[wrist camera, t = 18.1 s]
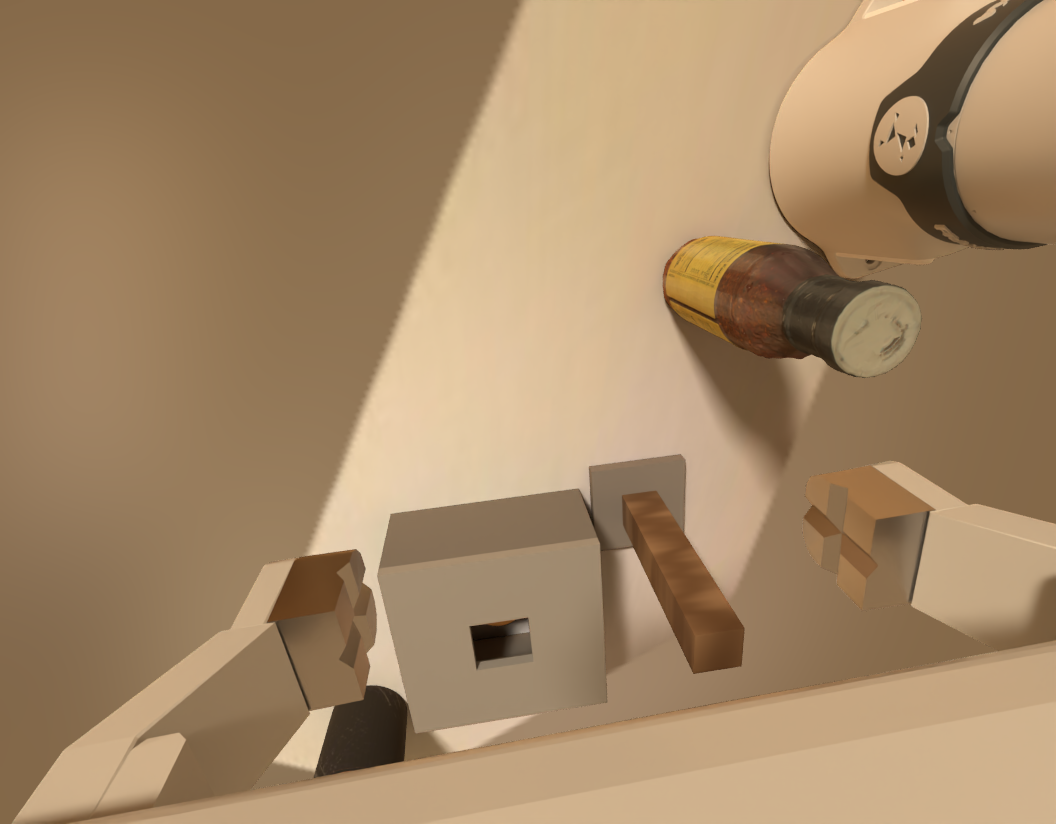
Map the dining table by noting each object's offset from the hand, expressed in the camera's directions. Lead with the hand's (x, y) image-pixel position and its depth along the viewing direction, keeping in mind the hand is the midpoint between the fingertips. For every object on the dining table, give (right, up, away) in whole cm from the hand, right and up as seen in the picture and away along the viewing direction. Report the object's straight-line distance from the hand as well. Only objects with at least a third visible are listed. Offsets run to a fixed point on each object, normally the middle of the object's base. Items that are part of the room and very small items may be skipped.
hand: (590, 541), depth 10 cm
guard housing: (-4, -13, +40) cm, 42 cm away
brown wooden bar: (+8, -6, +38) cm, 39 cm away
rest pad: (+8, -5, +38) cm, 40 cm away
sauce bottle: (+12, +13, +32) cm, 36 cm away
